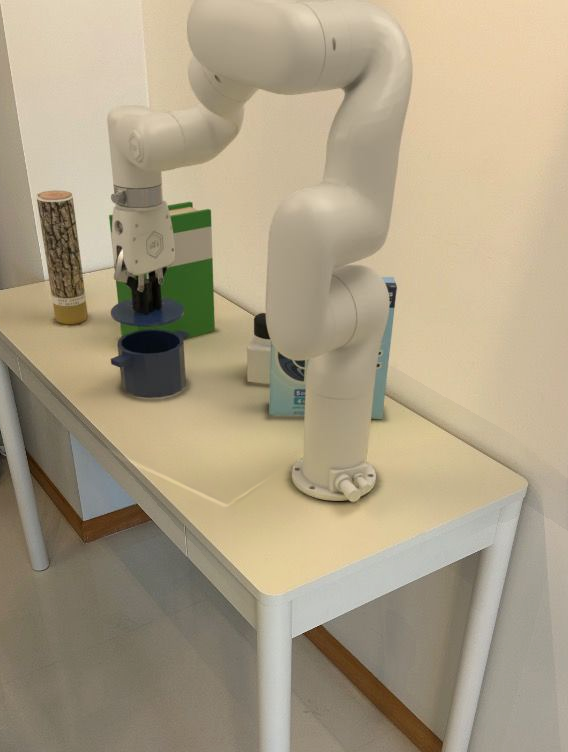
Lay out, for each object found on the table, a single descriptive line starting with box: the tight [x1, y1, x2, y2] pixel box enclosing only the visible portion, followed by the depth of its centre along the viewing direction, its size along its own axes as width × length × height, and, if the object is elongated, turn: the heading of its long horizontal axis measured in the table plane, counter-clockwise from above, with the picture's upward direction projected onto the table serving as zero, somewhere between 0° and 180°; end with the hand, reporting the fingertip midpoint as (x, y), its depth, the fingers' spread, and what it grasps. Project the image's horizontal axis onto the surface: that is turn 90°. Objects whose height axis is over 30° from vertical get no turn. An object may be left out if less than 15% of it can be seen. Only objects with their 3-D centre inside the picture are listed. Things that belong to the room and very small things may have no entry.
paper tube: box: [36, 190, 89, 325], centre depth 163 cm, size 7×7×25 cm
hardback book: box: [108, 201, 216, 339], centre depth 157 cm, size 18×7×24 cm, turn 127°
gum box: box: [268, 276, 398, 420], centre depth 132 cm, size 20×5×23 cm, turn 90°
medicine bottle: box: [246, 311, 271, 385], centre depth 145 cm, size 7×7×12 cm
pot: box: [110, 329, 190, 399], centre depth 143 cm, size 11×17×8 cm
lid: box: [110, 279, 184, 327], centre depth 136 cm, size 12×12×6 cm
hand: (147, 308), depth 137 cm, fingers closed on lid, 2 cm apart
